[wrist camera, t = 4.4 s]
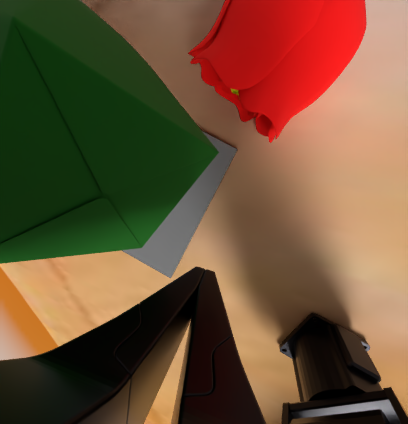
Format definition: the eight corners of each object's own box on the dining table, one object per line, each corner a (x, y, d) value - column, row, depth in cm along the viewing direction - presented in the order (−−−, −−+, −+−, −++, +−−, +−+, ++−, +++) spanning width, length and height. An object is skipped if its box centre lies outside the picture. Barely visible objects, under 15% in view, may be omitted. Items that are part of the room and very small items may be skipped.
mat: (171, 276, 24) (170, 278, 23) (18, 189, 25) (14, 189, 25) (237, 149, 18) (237, 149, 17) (30, 42, 19) (26, 40, 18)
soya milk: (-122, 299, 5) (-88, 35, 14) (148, 256, 13) (63, 104, 21) (-76, -152, 2) (-69, -134, 10) (243, 144, 10) (100, 18, 18)
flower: (426, 30, 9) (289, 161, 12) (323, 50, 16) (249, 133, 19) (356, -207, 6) (188, 51, 9) (261, -58, 12) (182, 63, 15)
